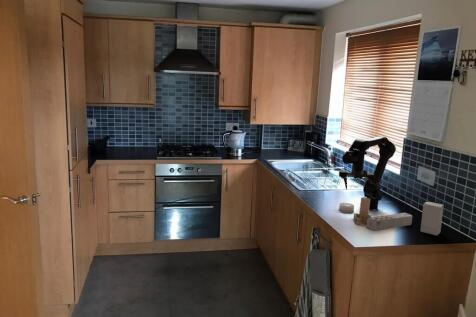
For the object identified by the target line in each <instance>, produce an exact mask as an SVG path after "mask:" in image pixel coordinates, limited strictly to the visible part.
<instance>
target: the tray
mask: <svg viewBox="0 0 476 317" xmlns="http://www.w3.org/2000/svg"><path fill="white" fill-rule="evenodd" d="M353 213H354V212H353ZM368 217H372V215H371V214H368ZM353 221H354V225H355V224H356V225H361V226H367V219H360V218H359V213H354V214H353Z"/></svg>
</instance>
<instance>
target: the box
mask: <svg viewBox="0 0 476 317" xmlns="http://www.w3.org/2000/svg"><path fill="white" fill-rule="evenodd" d="M412 223H413V215H412V214H410V213H407V212H400V213H392V214H386V215H376V216H371V217H368V219H367V225H366V228H367V229H369V230H372V231H380V230H382V231H383V230H387V229H394V228H400V227H406V226H412Z"/></svg>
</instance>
